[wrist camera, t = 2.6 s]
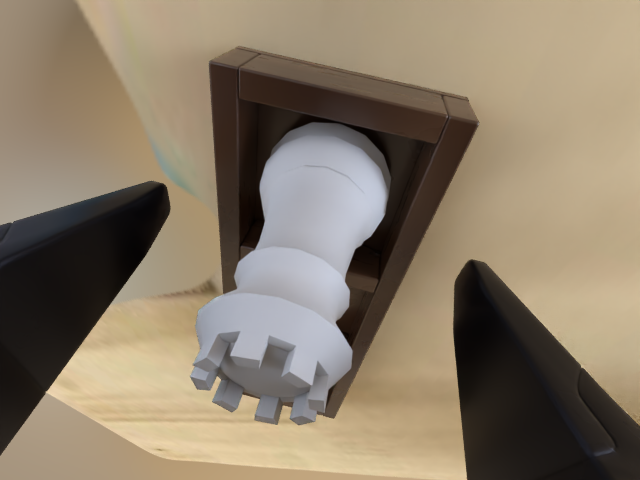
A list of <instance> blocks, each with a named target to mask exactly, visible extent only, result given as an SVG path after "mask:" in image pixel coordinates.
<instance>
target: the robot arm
mask: <svg viewBox="0 0 640 480" xmlns="http://www.w3.org/2000/svg"><path fill="white" fill-rule="evenodd" d="M169 213H170V201H169V196H168V191H167V187H166V185H164V184H163V183H159V182H154V181H148V182H145V183H142V184H138V185H135V186H132V187H128V188H125V189H122V190H118V191H115V192H111V193H108V194H105V195H101V196H98V197H95V198H91V199H88V200H84V201H81V202H78V203H74V204H71V205H68V206H64V207H61V208H57V209H54V210H51V211H48V212H44V213H41V214H37V215H34V216H31V217H27V218H24V219H20V220H17V221H14V222H13V223H7V224H3V225H0V455H1V454H2V453H3V451H4V450H5V448H6V447H7V446H8V444H9V443H10V442H11V440H12V439H13V437H14V436H15V435H16V433H17V432H18V431H19V429H20V428H21V427H22V425H23V424H24V422H25V421H26V420H27V418H28V417H29V416H30V414H31V413H32V411H33V410H34V409H35V407H36V406H37V404H38V403H39V402H40V400H41V399H42V398H43V396H44V395H45V393H46V392H45V391H47V390H48V389H49V388H50V386H51V385H52V384H53V382H54V381H55V379H56V378H57V377H58V375H59V374H60V373H61V371H62V370H63V368H64V367H65V366H66V364H67V363H68V362H69V360H70V359H71V357H72V356H73V355H74V353H75V352H76V351H77V349H78V348H79V346H80V345H81V344H82V342H83V341H84V340H85V338H86V337H87V336H88V334H89V333H90V331H91V330H92V329H93V327H94V326H95V325H96V323H97V322H98V320H99V319H100V318H101V316H102V315H103V314H104V312H105V311H106V309H107V308H108V307H109V305H110V304H111V303H112V301H113V300H114V298H115V297H116V296H117V294H118V293H119V292H120V290H121V289H122V287H123V286H124V284H125V283H126V282H127V281H128V279H129V278H130V276H131V275H132V274H133V272H134V271H135V270H136V268H137V267H138V265H139V264H140V263H141V261H142V260H143V258H144V257H145V256H146V254H147V252H148V250H149V249H150V248H151V245H152V244H153V242H154V240H155V238H156V237H157V235H158V233H159V232H160V230H161V228H162V226H163V224H164V223H165V221H166V219H167V217H168V215H169ZM453 335H454V347H455V357H456V368H457V378H458V388H459V399H460V409H461V420H462V430H463V440H464V451H465V461H466V472H467V480H640V426H639V425H638V424H637V423H636V422H635V421H634V420H633V419H632V418H631V417H630V416H629V415H628V414H627V413H626V412H625V411H624V410H623V409H622V408H621V407H620V406H619V405H618V404H617V403H616V402H615V401H614V400H613V399H612V398H611V397H610V396H609V395H608V394H607V393H606V392H605V391H604V390H603V389H602V388H601V387H600V386H599V385H598V383H597V382H596V381H595V380H594V379H593V378H592V377H591V376H590V375H589V374H588V373H587V372H586V371H585V369H583V368H581V365H580V364H579V363H578V362H577V361H576V360H575V359H574V358H573V357H572V356H571V354H570V353H569V352H568V351H567V350H566V349H565V348H564V347H563V346H562V345H561V344H560V343H559V342H558V340H557V339H556V338H555V337H554V336H553V335H552V334H551V333H550V332H549V331H548V330H547V329H546V328H545V326H544V325H543V324H542V323H541V322H540V321H539V320H538V319H537V318H536V317H535V316H534V315H533V314H532V312H531V311H530V310H529V309H528V308H527V307H526V306H525V305H524V304H523V303H522V302H521V301H520V300H519V298H518V297H517V296H516V295H515V294H514V293H513V292H512V291H511V290H510V289H509V288H508V287H507V286H506V284H505V283H504V282H503V281H502V280H501V279H500V278H499V277H498V276H497V275H496V274H495V273H494V272H493V270H492V269H491V268H490V267H489V266H488V265H487V264H486V263H484V262H481V261H477V260H473V259H471V260H469V261H468V262H467V263H466V264H465V266H464V267H463V269H462V270H461V272H460V274H459V275H458V277H457V278H456V281H455V285H454V317H453Z"/></svg>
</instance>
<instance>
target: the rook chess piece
mask: <svg viewBox="0 0 640 480" xmlns="http://www.w3.org/2000/svg"><path fill="white" fill-rule="evenodd" d="M390 183H391V176H390V173H389V170H388V167H387V164H386V161H385V158H384V155H383V154H382V153H381V152H380V151H379V149H378V148H377V147H376V146H375V145H374V144H373V143H372V142H371V141H370V140H369V139H368V138H367V136H366V135H364V134H362V133H359V132H357V131H355V130H353V129H351V128H349V127H346V126H344V125H342V124H339V123H316V122H312V123H309V124H307V125H304V126H302V127H299V128H297V129H294V130H291V131H289V132H288V133H287V134H286V135H285V136H284V137H283V138H282V139H281V140H280V141H279V142H278V143H277V144H276V145H275V146H274V148H273V149H272V152H271V155H270V158H269V159H268V160H267V161H266V164H265V168H264V171H263V174H262V178H261V181H260V195H261V201H262V207H263V212H264V218H265V223H264V227H263V230H262V234H261V237H260V240H259V243H258V245H257V247H256V249H255V251H252V252H250V253H249V254H248V255H247V256H245V257H244V258H243V259H242V260H240V261H239V262H238V265H237V268H236V272H235V275H234V278H235V282H236V285H237V289H236V290H234V291H231V292H228V293H226V294H223V295H221V296H218V297H215V298H214V299H213V300H211V301H210V302H209V303H207V304H206V305H205V306H203V307H202V308H201V309H199V310H198V315H197V320H196V325H195V328H196V332H197V337H198V341H199V345H200V352H199V354H198V356H197V358H196V359H195V361H194V363H193V366H195V368H194V370H193V372H192V373H191V375H190V377H191V379H192V381H193V383H194V385H195V386H196V388H197V389H199V390H211V388H212V386H213V383H214V381H215V379H216V377H217V376H218V377H219V378H220V379H221V382H220V384H219V387H218V389H217V391H216V394H215V396H214V398H213V401H212V402H213V403H215V404H217V405H219V406H221V407H223V408H225V409H226V410H228V411H230V412H233V411H235V410H236V409H237V408H238V405H239V402H240V399H241V397H242V394H243V392H246V393H249V394H251V395H254V396H257V397H260V401H259V404H258V407H257V410H256V413H255V421H260V422H265V423H270V424H275V425H278V421H279V417H280V414H281V410H282V406H283V402H294V403H293V407H292V411H291V415H290V419H291V420H292V421H293V422H295V423H296V424H297V425H302V424H307V423H311V422H315V420H316V414H317V411H319V412H323V413H325V408H326V402H327V396H328V390H329V389H330V388H331V387H332V386H333V385H334V384H336V383H337V382H338V381H339V380H340V379H341V378H342V377H343V376H344V375H345V374H346V373H347V372H348V371H349V370H350V369H351V365H352V349H351V347H350V346H349V344H348V343H347V341H346V339H345V338H344V336H343V334H342V333H341V331H340V329H339V328H338V326H337V325H336V321H337V320H338V319H340V318H341V317H342V315H343V314H344V313H345V311H346V310H347V309H348V307H349V299H350V290H349V288H348V287H347V285H346V283H345V277H346V272H347V270H348V267H349V264H350V262H351V259H352V256H353V254H354V251H355V249H356V248H358V247H359V246H361V245H362V243H363V242H364V241H365V240H366V239H368V238H369V237H371V235H372V234H373V232H374V231H375V229H376V228H377V226H378V225H379V223H380V222H381V220H382V219H383V217H384V216H385V214H386V207H387V201H388V199H389V191H390Z"/></svg>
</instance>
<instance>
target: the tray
mask: <svg viewBox="0 0 640 480" xmlns="http://www.w3.org/2000/svg"><path fill="white" fill-rule="evenodd" d="M209 73H210V89H211V105H212V121H213V137H214V153H215V168H216V184H217V200H218V216H219V232H220V248H221V264H222V279H223V294H226V293H228V292H231V291H234V290H236V289H237V285H236V282H235V278H234V275H235V272H236V268H237V265H238V262H239V261H240V260H242V259H243V258H244V257H245V256H247V255H248V254H249V253H250V252H252V251H255V249H256V247H257V245H258V243H259V240H260V237H261V234H262V230H263V227H264V223H265V218H264V212H263V207H262V201H261V195H260V181H261V178H262V174H263V171H264V168H265V164H266V161H267V160H268V159H269V158H270V155H271V152H272V149H273V148H274V146H275V145H276V144H277V143H278V142H279V141H280V140H281V139H282V138H283V137H284V136H285V135H286V134H287V133H288V132H289V131H291V130H294V129H297V128H299V127H302V126H304V125H307V124H309V123H312V122H316V123H339V124H342V125H344V126H346V127H349V128H351V129H353V130H355V131H357V132H359V133H362V134H364V135H366V136H367V138H368V139H369V140H370V141H371V142H372V143H373V144H374V145H375V146H376V147H377V148H378V149H379V151H380V152H381V153H382V154H383V155H384V158H385V161H386V164H387V167H388V170H389V173H390V176H391V183H390V191H389V199H388V201H387V207H386V214H385V216H384V217H383V219H382V220H381V222H380V223H379V225H378V226H377V228H376V229H375V231H374V232H373V234H372V235H371V237H369V238H368V239H366V240H365V241H364V242H363V243H362V245H361V246H359V247H358V248H356V249H355V251H354V254H353V256H352V259H351V262H350V264H349V267H348V270H347V272H346V277H345V283H346V285H347V287H348V288H349V290H350V299H349V307H348V309H347V310H346V311H345V313H344V314H343V315H342V317H341V318H340V319H338V320H337V321H336V325H337V326H338V328H339V329H340V331H341V333H342V334H343V336H344V338H345V339H346V341H347V343H348V344H349V346H350V347H351V349H352V365H351V369H350V370H349V371H348V372H347V373H346V374H345V375H344V376H343V377H342V378H341V379H340V380H339V381H338V382H337V383H336V384H334V385H333V386H332V387H331V388H330V389H329V390H328V396H327V402H326V408H325V413H323V412H319V411H317V414H318V415H323V416H326V417H329V418H333V419H334V418H335V416H336V414H337V412H338V410H339V408H340V406H341V404H342V402H343V400H344V398H345V396H346V394H347V392H348V390H349V388H350V386H351V384H352V382H353V380H354V378H355V376H356V373H357V371H358V369H359V367H360V365H361V363H362V361H363V359H364V357H365V355H366V353H367V351H368V349H369V347H370V345H371V343H372V341H373V339H374V337H375V335H376V333H377V331H378V329H379V327H380V325H381V323H382V321H383V319H384V317H385V315H386V313H387V311H388V308H389V306H390V304H391V302H392V300H393V298H394V296H395V294H396V292H397V290H398V288H399V286H400V284H401V282H402V280H403V278H404V276H405V274H406V272H407V270H408V268H409V266H410V264H411V262H412V260H413V258H414V256H415V254H416V252H417V250H418V248H419V246H420V244H421V241H422V239H423V237H424V235H425V233H426V231H427V229H428V227H429V225H430V223H431V221H432V219H433V217H434V215H435V213H436V211H437V209H438V207H439V205H440V203H441V201H442V199H443V197H444V195H445V193H446V191H447V189H448V187H449V185H450V183H451V181H452V179H453V176H454V174H455V172H456V170H457V168H458V166H459V164H460V162H461V160H462V158H463V156H464V154H465V152H466V150H467V148H468V146H469V144H470V142H471V140H472V138H473V136H474V134H475V132H476V130H477V128H478V126H479V121H478V119H477V117H476V115H475V113H474V111H473V109H472V108H471V106H470V104H469V100H468V98H467V97H462V96H458V95H454V94H449V93H445V92H440V91H436V90H431V89H427V88H422V87H418V86H414V85H409V84H405V83H400V82H396V81H391V80H387V79H383V78H378V77H374V76H369V75H365V74H360V73H356V72H351V71H347V70H343V69H338V68H334V67H329V66H325V65H320V64H316V63H311V62H307V61H303V60H298V59H294V58H289V57H285V56H280V55H276V54H272V53H267V52H263V51H258V50H254V49H249V48H245V47H240V46H238V47H236V48H235V49H233V50H231V51H229V52H227V53H225V54H223V55H221V56H219V57H217V58H214V59H212V60H210V61H209ZM243 395H247V396H251V397H255V398H258V399H260V397H257V396H254V395H251V394H249V393H246V392H243ZM293 403H294V402H283V405H284V406H288V407H293Z"/></svg>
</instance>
